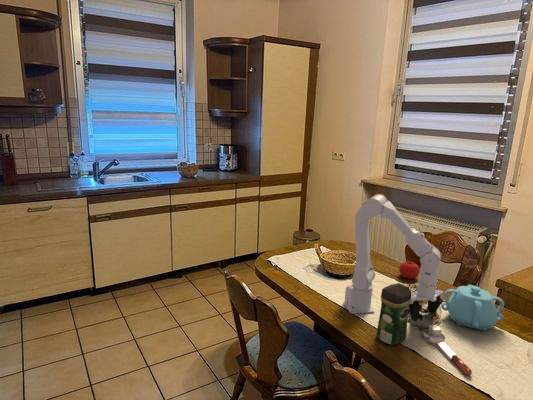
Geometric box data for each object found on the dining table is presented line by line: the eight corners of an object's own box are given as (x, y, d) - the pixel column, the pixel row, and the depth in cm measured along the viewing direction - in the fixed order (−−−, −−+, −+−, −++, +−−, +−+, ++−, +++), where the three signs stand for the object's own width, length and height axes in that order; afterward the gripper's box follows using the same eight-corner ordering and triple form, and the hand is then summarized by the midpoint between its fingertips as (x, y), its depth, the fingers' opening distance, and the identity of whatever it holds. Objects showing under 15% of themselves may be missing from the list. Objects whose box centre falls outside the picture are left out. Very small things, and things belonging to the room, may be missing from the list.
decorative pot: (468, 307, 144) (474, 275, 141) (506, 330, 129) (513, 294, 126) (435, 313, 139) (440, 280, 136) (470, 337, 124) (477, 300, 121)
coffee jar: (388, 327, 128) (395, 278, 123) (409, 339, 121) (416, 287, 117) (371, 336, 122) (377, 285, 118) (392, 349, 116) (399, 295, 111)
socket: (420, 331, 126) (423, 315, 125) (410, 323, 131) (412, 308, 129) (431, 328, 128) (434, 312, 127) (420, 320, 133) (423, 305, 131)
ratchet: (419, 334, 124) (421, 322, 123) (437, 333, 125) (438, 321, 124) (459, 377, 104) (462, 364, 103) (479, 376, 105) (482, 363, 104)
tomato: (394, 276, 169) (396, 260, 167) (404, 271, 175) (406, 256, 173) (412, 283, 163) (414, 266, 161) (421, 278, 168) (424, 262, 167)
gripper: (420, 290, 119) (414, 328, 122) (452, 284, 125) (446, 320, 128) (404, 281, 126) (399, 317, 129) (435, 275, 131) (430, 310, 134)
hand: (422, 318), depth 129 cm, fingers open, 7 cm apart
